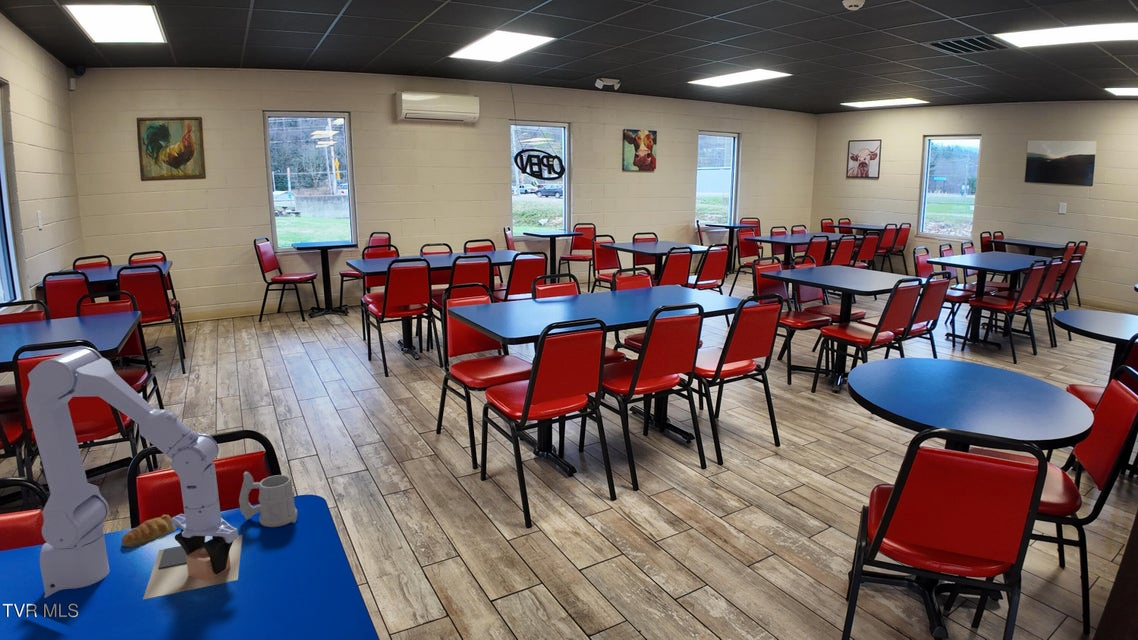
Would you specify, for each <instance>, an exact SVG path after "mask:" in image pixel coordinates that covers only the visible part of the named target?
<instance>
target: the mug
mask: <svg viewBox="0 0 1138 640" xmlns="http://www.w3.org/2000/svg"><path fill="white" fill-rule="evenodd" d="M253 489H259V490H258V491H259V493H258V494H259V495H258V502H259V504H256V505H255V506H254V505H252V504H251V502H249V495H250V492H251V491H252V490H253ZM294 496H295V490H294V488H293V483H292V479H291V476H289V475H285V474H277V475H271V476H267V477H266V478H263V479H262V480H261V481H260V482H259V481H256V482H255V481H254V477H253V476H252V474H251V473H250V472H249V471H244V473H243V482H242V485H241V489H240V493H239V499H238V502H239V507H240V508H239V509H240V512H241V514H242V516H244V518H245V520H250V519H251V518H252V517H253V516H255V515H256V514H259V513H260V515H259V517H258V520H259V523H260V525H262V526H264V527H267V528H278V527H283V526H286V525H288V524H290V523H296V522H297V517H298V509H297V508H296V505H295V498H294Z"/></svg>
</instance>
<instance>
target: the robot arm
mask: <svg viewBox="0 0 1138 640" xmlns="http://www.w3.org/2000/svg"><path fill="white" fill-rule="evenodd" d="M27 377H28V380H29V381H28V382H29V386H28V390H27V394H26V396H25V397H26V398H25V403H26V407H27V411H28V415H29V419H30V422H31V426H32V427H31V428H32V430H33V434H34V437H35V441H36V445H37V448H38V451H39V452H38V453H39V456H40V460H41V463H42V468H43V471H44V475H45V479H46V481H47V482H46V483H47V485H48V489H49V490H48V491H49V493H50V495H49V497H48V499H47V502H46V503H45V505H44V507H43V510H42V513H41V515H42V517H43V523H42V527H41V535H42V537H43V539H44V541H45V543H43V545H42V547H41V550H40V554H39V566H40V567H39V568H40V572H41V578H42V584H43V588H44V589H43V590H44V595H43V597H44V599H46V598H48V597H50V596H51V595H53V594H54V593H56V592H59V591H62V590H67V589H68V590H69V589H79V588H85V587H88V586H91V585H93V584H96V583H99V582H100V581H102V580H103V579H104V578H105V577H107V576H108V575H109V574H110V565H109V564H110V563H109V559H108V552H107V546H106V541H105V540H106V539H105V534H104V527H105V523H104V521H105V520H107V517H108V516H109V513H110V508H109V504H108V502H107V500H105V498H104V497H103V496H102V494H101V493H100V492H101V491H100V487H99V486H98V485H94V484H91V483H89V482H88V479H87V475H86V470H85V467H84V463H83V460H82V454H81V452H80V448H79V443H78V439H77V435H76V431H75V427H74V425H73V420H72V417H71V412H70V411H71V410H70V408H69V405H68V404H69V402H70V401H71V399H73V398H74V397H75V398H76V397H77V398H78V397H79V398H80V397H86V398H87V397H99V398H101V399H102V400H103V401H105V402H107V404H110V405H111V406H112V407H113V408H115V409H116V410H118V411H120V412H121V413H122V414H124V415H125V416H127V417H128V418H129V419H131V420H132V421H134V422H135V423H137V424H138V431H139V435H140V436H141V437H143V438H144V439H145V440H147V442H149V443H150V444H151V445H153V446H154V447H156V448H157V449H158V450H159V451H161V452H162V453H163V454H164V455H166V456H167V457H168V458H169V459H171V461H170V462H169V463H170V467H171V469H172V471H173V472H174V473H175V474H177V476H178V478H179V483H180V489H181V490H180V491H181V497H182V504H183V513H180V514H178V515H176V516H173V517H171V519H172V526H173V528H176V529H179V528H180V530H179V531H180V532H179V533H176V534H175V535H174V540H175V541H176V542H177V543H178V544H179V546H182V547H183V549H184V550H185V552H186V554H187V555H189V554H191V553H192V552H194V551H196V550H198V549H199V548H201V547H204V548H205V549H206V551H207V553H208V555H209V557H210V560H211V565H212V569H213V572H214V574H219V573H220V572H222V571H223V570H225V569H226V565H227V559H228V555H229V551H230V548H231V546H232V543H233V541H234V540H236V539H237V538H238V536H239V532H238V528H236V527H233V525H231V524H230V523H228V522H227V521H226V520H225V519H223V517H221V507H220V500H219V499H220V498H219V489H218V482H217V481H218V480H217V473H216V465H215V462H214V461H215V460H216V458H217V457H218V455H219V451H220V450H219V448H220V447H219V445H218V443H217V441H216V440H215V439H214V438H213V436H212V435H210V434H207V433H199V432H197V431H194V430H192V429H191V428H190V427H189V426H188V425H186V424H185V423H184V422H183V421H181V420H180V419H179V418H178V417H179V415H178V414H176V412H174V411H172V412H170V411H169V410H168V409H157V408H155V407H153V406H152V405H151V404H150V403H149V402H148V401H147V400H145V399H144V398H143V397H142V396H141V395H140V393H138V392H137V391H136V390H135V389H134V388H133V387H132V386H130V385H129V383H127V382H126V381H125V380H124V379H123V378H122V377H121V376H120V375H119V374H117V373H116V371H115V369H114V368H113V365H112V362H111V361H110V360H109V359H107V358H105V357H103V356H102V355H101V353H100V352H99V351H98V350H96V349H94V348H91V347H90V346H89V347H88V346H79V347H75V348H74V349H72V350H71V351H68V352H65V353H62V354H60V355H58V356H55V357H52V358H50V359H46V360H43V361H40V362H39V363H38V364H37V365H36V366H35V367H34V368H33V369H32V370H31V371H30V372H28V373H27ZM206 537H212V538H210V539H209V540H207V542H206Z"/></svg>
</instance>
